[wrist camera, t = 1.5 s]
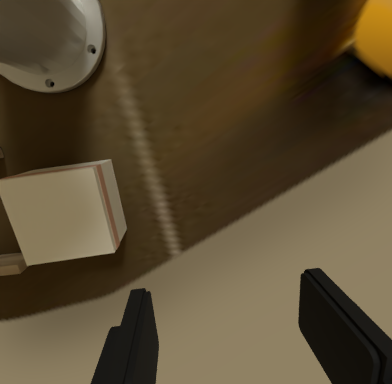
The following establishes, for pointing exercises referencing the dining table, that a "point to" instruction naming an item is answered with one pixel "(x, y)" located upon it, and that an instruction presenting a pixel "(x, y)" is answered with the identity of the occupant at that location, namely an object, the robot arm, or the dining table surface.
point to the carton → (65, 211)
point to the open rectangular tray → (11, 258)
